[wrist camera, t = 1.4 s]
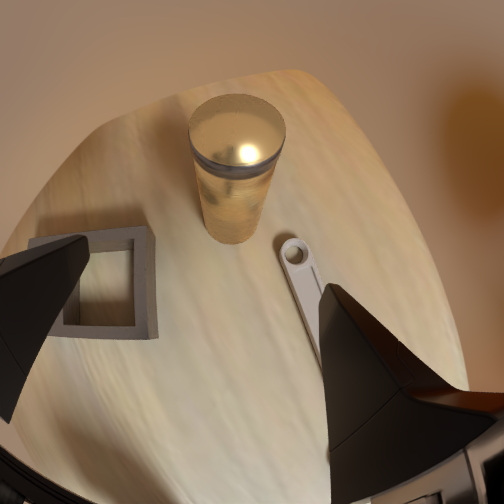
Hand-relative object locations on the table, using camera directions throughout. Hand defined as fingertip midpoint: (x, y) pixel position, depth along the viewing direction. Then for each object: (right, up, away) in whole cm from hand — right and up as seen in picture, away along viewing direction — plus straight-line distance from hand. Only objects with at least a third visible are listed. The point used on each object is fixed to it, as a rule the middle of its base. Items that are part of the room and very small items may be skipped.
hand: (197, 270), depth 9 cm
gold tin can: (0, +4, +15) cm, 16 cm away
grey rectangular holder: (-13, -3, +12) cm, 18 cm away
